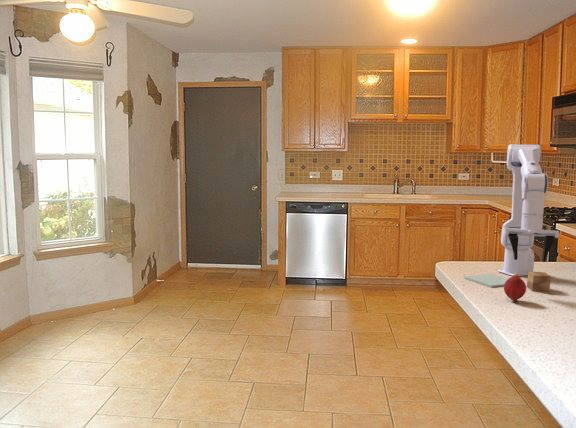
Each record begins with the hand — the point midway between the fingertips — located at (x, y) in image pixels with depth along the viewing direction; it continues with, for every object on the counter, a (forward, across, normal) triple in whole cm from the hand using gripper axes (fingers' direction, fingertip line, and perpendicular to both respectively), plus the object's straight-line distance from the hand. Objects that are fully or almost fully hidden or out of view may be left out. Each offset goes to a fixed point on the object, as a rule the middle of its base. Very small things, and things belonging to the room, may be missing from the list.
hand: (529, 260), depth 159 cm
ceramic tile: (+9, -9, +12) cm, 18 cm away
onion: (+11, -5, -9) cm, 15 cm away
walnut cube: (+10, +4, +7) cm, 12 cm away
